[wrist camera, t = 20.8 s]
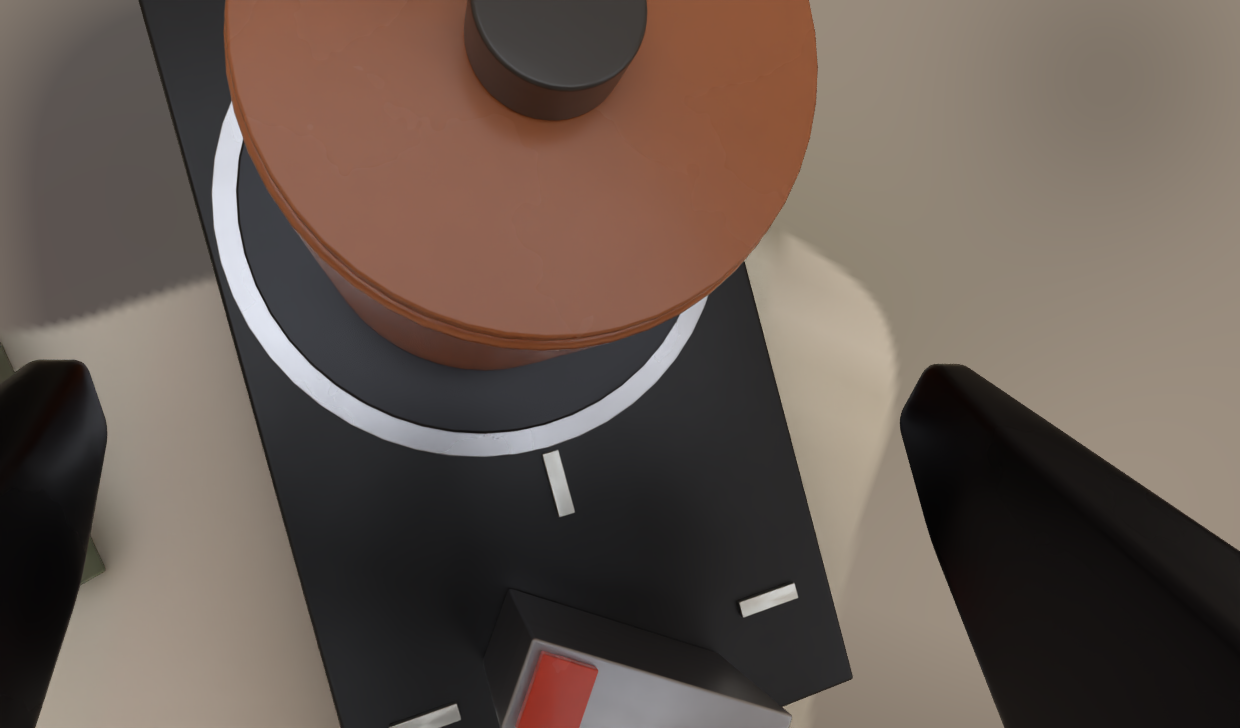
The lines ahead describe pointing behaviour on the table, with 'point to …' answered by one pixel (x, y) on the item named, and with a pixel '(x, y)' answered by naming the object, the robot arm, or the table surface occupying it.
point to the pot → (523, 157)
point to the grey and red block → (611, 675)
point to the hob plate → (393, 378)
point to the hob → (527, 498)
